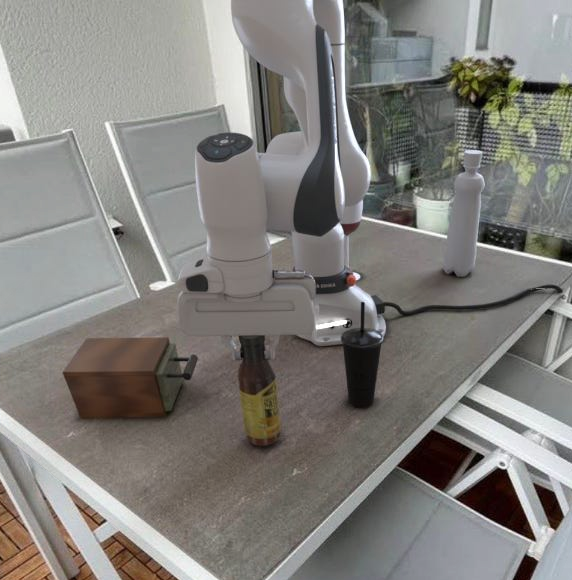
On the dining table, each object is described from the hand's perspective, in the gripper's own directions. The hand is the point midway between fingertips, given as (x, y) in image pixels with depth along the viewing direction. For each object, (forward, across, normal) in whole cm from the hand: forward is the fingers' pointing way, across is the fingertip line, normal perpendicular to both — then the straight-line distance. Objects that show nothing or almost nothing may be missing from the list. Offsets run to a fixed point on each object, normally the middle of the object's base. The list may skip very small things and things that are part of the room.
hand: (253, 358), depth 87 cm
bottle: (+17, -49, -79) cm, 94 cm away
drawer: (+15, +23, -14) cm, 31 cm away
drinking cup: (+16, -18, -12) cm, 27 cm away
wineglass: (+17, -17, -76) cm, 79 cm away
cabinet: (+16, +27, -14) cm, 34 cm away
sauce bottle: (+16, 0, 0) cm, 16 cm away
